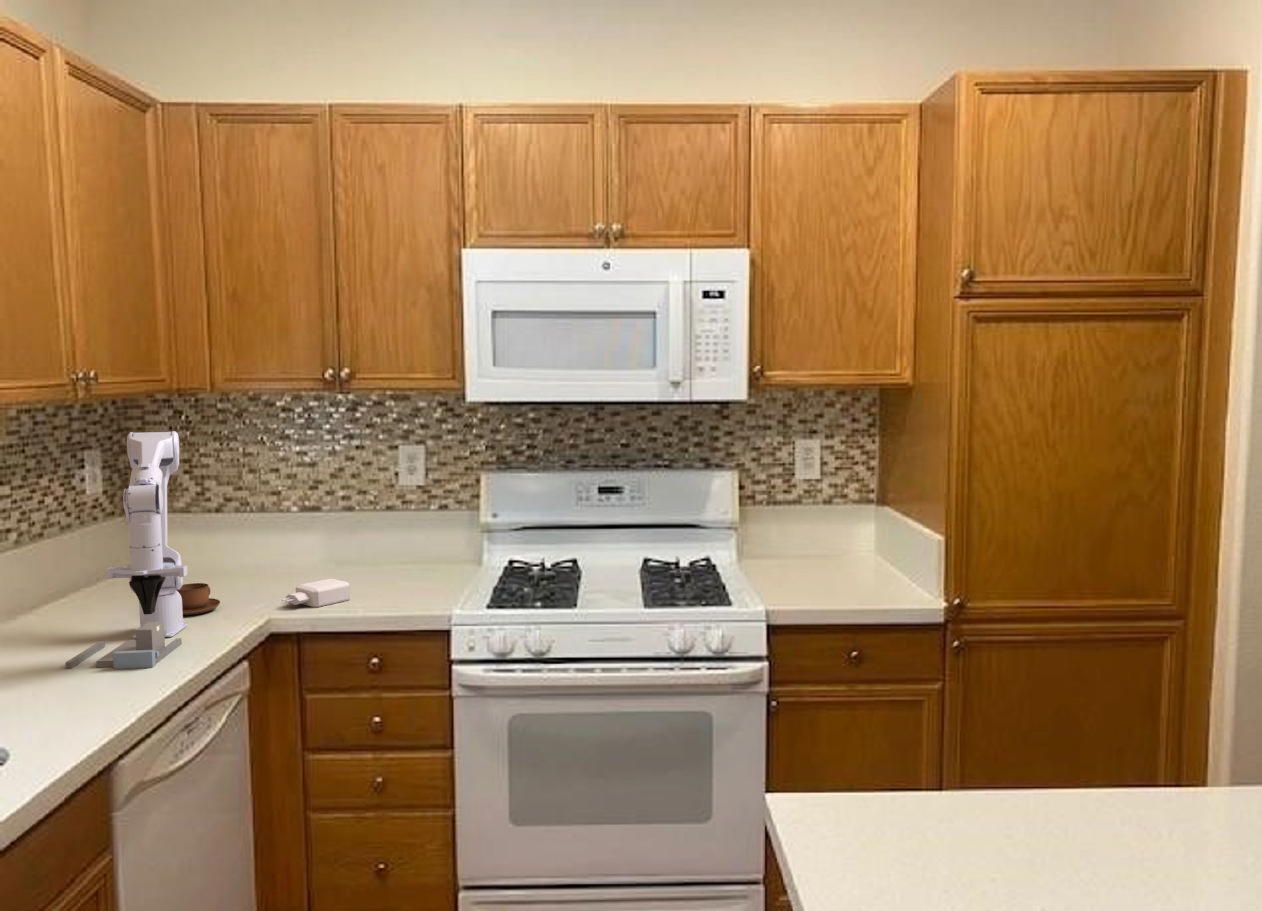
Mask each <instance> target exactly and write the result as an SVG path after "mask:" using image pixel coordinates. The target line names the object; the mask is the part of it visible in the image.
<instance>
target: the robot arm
mask: <svg viewBox="0 0 1262 911" xmlns="http://www.w3.org/2000/svg"><path fill="white" fill-rule="evenodd" d="M126 452H127V457H128V460H129V466H130V469H131V473H130V478H129V484H128V488H124V489H123V498H122V500H123V510H124V512H125V522H126V524H127V525H128V528H127V529H128V530H127V531H128V547H129V566H120V567H119V566H116V567H113V566H112V567H108V568H106V569H105V573H106V574H105V577H106V580H113V579H129V582H128V584H129V585H128V586H129V589H130V591H131V592H132V593H134V594H135V595H136V596H137V599H138V606H139V607H138V610H139V624H140V625H139V627H141V626H143V625H144V624H146V623H147V622H163V621H164V629H165V630H166V635H165V636H164V638H171V637H172V638H173V636H175V635H177V633H179V632H181V631H182V630H183V629H184V628H186V627H187V626H189V625H188V623H186V622H185V623H184V615H183V611H182V598H181V595H180V594H179V592H178V591H177V589H180V588H181V587H182V585H184V584H183V583H184V578H185V577H186V576H188V565H183V563H182V562H183V560H182V555H181V554H180V553H179V552H178V551H177V550H175V549H173V548H171V547H170V546H168V484H169V480H170V475H171V474H174V473H175V472H178V470H179V466H180V438H179V434H178V432H176V431H175V430H172V431H152V432H150V431H149V432H148V431H147V432H134V431H130V432H129V434H127V437H126ZM132 638H133V639H136V633H135V634H134V635H132Z"/></svg>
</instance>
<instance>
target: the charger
mask: <svg viewBox="0 0 1262 911" xmlns="http://www.w3.org/2000/svg"><path fill="white" fill-rule="evenodd" d="M350 587H351V586H350V583H349V582H347V581H343V580H339V579H335V578H326V579H321V580H317V581H311V582H307V583H306V582H305V583H301V584H298V585H296V587H295V592H294V593H289V594H288V595H286V596H285V598H282V599H281V602H284V601H285V603H289V604H290V605H295V606H296V605H300V604H301V605H305V606H308V607H312V608H320V607H321V608H322V607H324V606H329V605H334V604H339V603H342V602H348V601H350V600H351V590H350V589H351V588H350Z"/></svg>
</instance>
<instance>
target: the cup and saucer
mask: <svg viewBox="0 0 1262 911" xmlns="http://www.w3.org/2000/svg"><path fill="white" fill-rule="evenodd" d="M177 591H178V592H179V594H180V595H181V598H182V611H183V616H191V615H192V616H193V615H198V614H199V615H200V614H203V613H208V612H211V611H213V610H215V609H216V608H217V607H218V606H220V603H221V601H220V599H217V598H212V597H211V598H209V597H210V594H211V587H210V585H209V584H208V583H202V582H200V583H199V582H193V583H185V584H183V585H182V587H181V588H180V589H177Z"/></svg>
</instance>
